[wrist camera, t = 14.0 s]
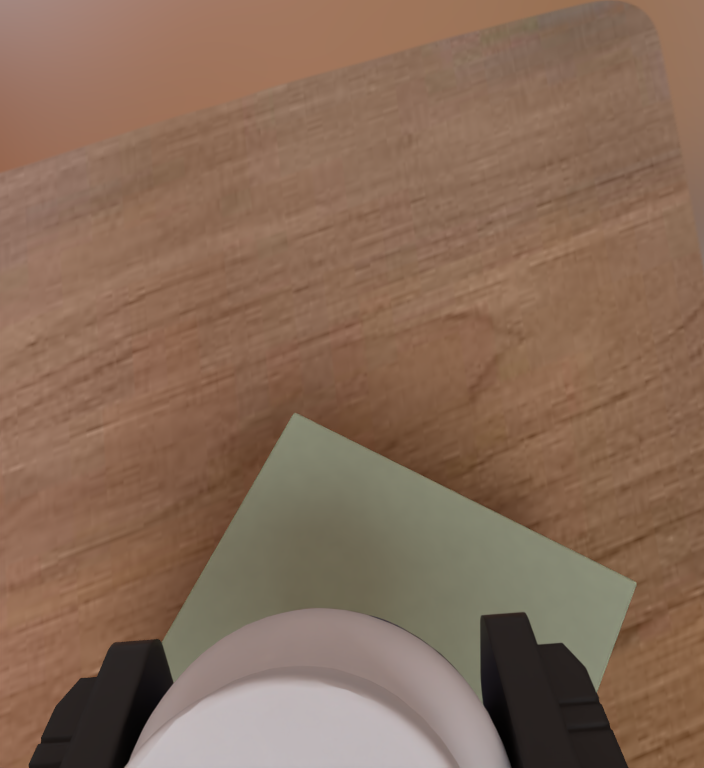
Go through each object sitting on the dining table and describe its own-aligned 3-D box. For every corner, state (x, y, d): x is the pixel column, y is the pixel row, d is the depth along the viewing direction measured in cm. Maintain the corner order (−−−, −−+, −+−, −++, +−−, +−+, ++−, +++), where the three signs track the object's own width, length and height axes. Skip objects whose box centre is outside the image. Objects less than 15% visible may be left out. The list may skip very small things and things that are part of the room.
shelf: (557, 594, 29) (638, 582, 19) (420, 932, 25) (439, 1121, 15) (322, 473, 31) (293, 411, 22) (164, 763, 27) (47, 839, 18)
